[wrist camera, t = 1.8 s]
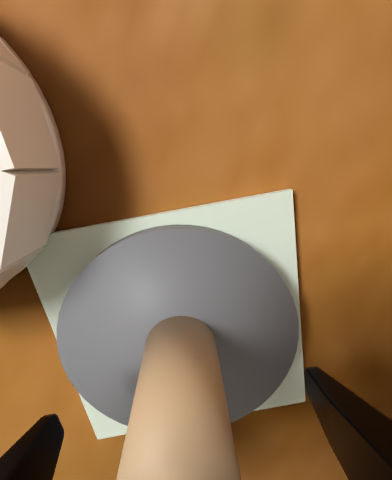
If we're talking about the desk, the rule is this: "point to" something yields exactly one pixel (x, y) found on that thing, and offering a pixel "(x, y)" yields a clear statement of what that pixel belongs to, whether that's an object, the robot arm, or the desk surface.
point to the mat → (208, 215)
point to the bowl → (26, 167)
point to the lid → (178, 345)
